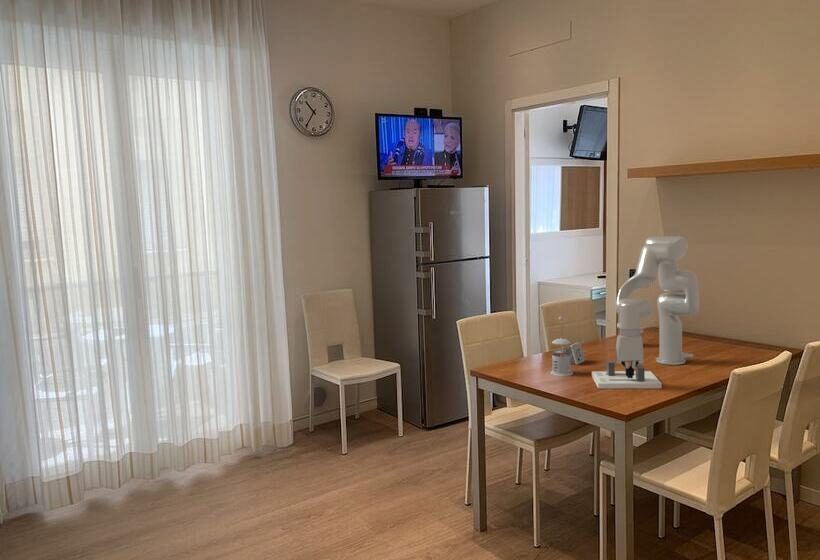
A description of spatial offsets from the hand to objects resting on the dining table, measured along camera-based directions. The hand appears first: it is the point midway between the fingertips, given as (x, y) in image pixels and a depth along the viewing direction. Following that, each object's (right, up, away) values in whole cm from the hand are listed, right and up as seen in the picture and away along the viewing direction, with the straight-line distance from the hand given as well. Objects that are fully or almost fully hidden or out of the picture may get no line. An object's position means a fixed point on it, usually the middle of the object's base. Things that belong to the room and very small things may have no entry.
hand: (629, 377), depth 256 cm
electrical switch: (-11, 0, +40) cm, 42 cm away
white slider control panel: (0, -3, +5) cm, 6 cm away
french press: (-22, -2, +24) cm, 32 cm away
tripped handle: (+4, -1, -1) cm, 4 cm away
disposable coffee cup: (+22, +5, +69) cm, 73 cm away
